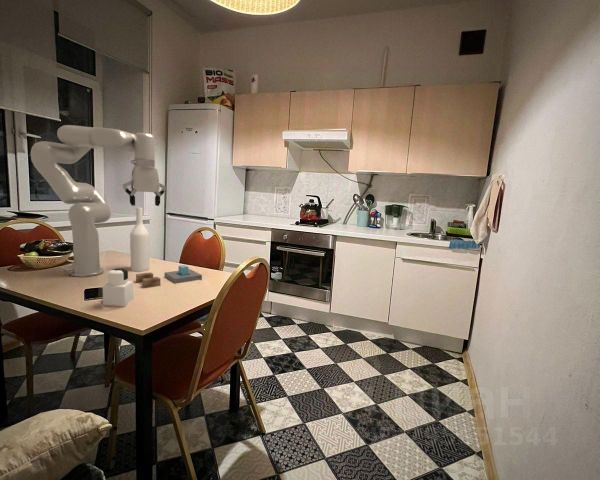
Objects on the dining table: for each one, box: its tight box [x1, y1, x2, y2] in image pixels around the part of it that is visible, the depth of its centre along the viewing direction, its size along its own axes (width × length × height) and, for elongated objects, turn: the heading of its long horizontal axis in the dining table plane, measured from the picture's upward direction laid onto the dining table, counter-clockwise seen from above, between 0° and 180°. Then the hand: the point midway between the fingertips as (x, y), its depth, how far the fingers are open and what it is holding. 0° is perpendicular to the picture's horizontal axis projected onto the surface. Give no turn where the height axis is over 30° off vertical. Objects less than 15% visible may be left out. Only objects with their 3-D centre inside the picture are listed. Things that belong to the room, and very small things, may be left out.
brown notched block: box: [135, 272, 161, 289], centre depth 132 cm, size 6×11×4 cm, turn 44°
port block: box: [163, 268, 203, 285], centre depth 142 cm, size 12×12×2 cm
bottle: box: [129, 207, 150, 272], centre depth 151 cm, size 8×8×30 cm
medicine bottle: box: [101, 267, 135, 308], centre depth 109 cm, size 7×7×12 cm
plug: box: [177, 264, 190, 276], centre depth 142 cm, size 3×4×6 cm
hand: (145, 205), depth 134 cm, fingers open, 9 cm apart
